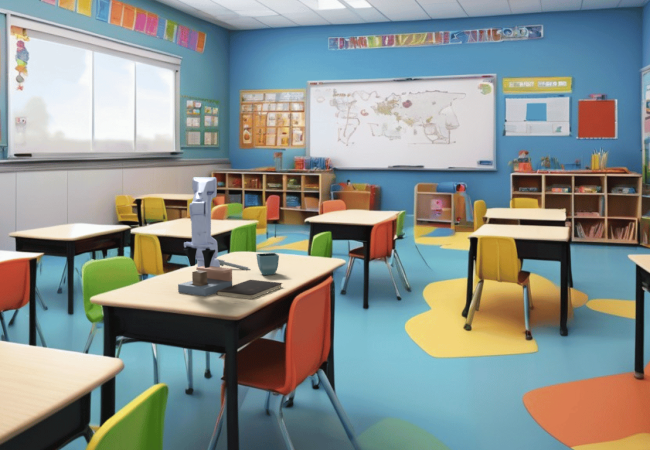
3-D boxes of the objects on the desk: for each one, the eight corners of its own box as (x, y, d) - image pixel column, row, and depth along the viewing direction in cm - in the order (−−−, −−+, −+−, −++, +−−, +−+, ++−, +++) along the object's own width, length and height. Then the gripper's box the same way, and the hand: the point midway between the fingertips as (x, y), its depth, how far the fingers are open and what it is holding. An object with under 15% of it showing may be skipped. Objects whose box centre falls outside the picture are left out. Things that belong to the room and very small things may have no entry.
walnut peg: (199, 290, 239) (199, 270, 238) (207, 291, 237) (206, 271, 236) (192, 292, 236) (192, 271, 235) (200, 293, 234) (199, 273, 233)
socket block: (206, 284, 249) (205, 277, 249) (232, 288, 242) (232, 280, 242) (178, 291, 236) (178, 284, 235) (205, 296, 229) (205, 288, 228)
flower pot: (256, 272, 274) (256, 253, 273) (275, 271, 277) (275, 252, 276) (260, 276, 266) (259, 256, 265) (279, 275, 268) (279, 255, 267)
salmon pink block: (205, 277, 249) (205, 265, 248) (232, 280, 242) (232, 268, 241) (196, 279, 244) (196, 267, 244) (223, 283, 237) (223, 270, 237)
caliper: (209, 268, 286) (209, 255, 285) (210, 268, 287) (210, 255, 286) (249, 270, 281) (249, 257, 280) (250, 270, 282) (250, 257, 281)
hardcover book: (282, 288, 245) (282, 282, 244) (252, 300, 224) (251, 294, 224) (248, 284, 251) (248, 279, 251) (216, 296, 231) (216, 290, 231)
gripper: (177, 232, 234) (178, 266, 236) (206, 234, 227) (207, 270, 228) (190, 230, 240) (191, 263, 242) (218, 232, 233) (219, 267, 234)
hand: (199, 266), depth 235 cm, fingers open, 7 cm apart
